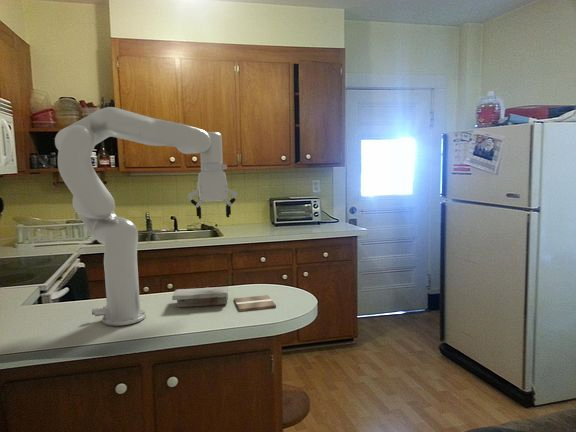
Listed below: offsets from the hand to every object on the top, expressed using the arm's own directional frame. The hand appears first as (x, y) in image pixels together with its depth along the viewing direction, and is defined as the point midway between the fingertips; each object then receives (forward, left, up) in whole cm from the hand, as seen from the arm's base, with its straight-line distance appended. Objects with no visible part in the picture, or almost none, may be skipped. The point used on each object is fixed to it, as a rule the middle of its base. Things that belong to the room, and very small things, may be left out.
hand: (213, 217), depth 155 cm
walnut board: (+11, -13, -28) cm, 33 cm away
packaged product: (-7, -13, -26) cm, 29 cm away
